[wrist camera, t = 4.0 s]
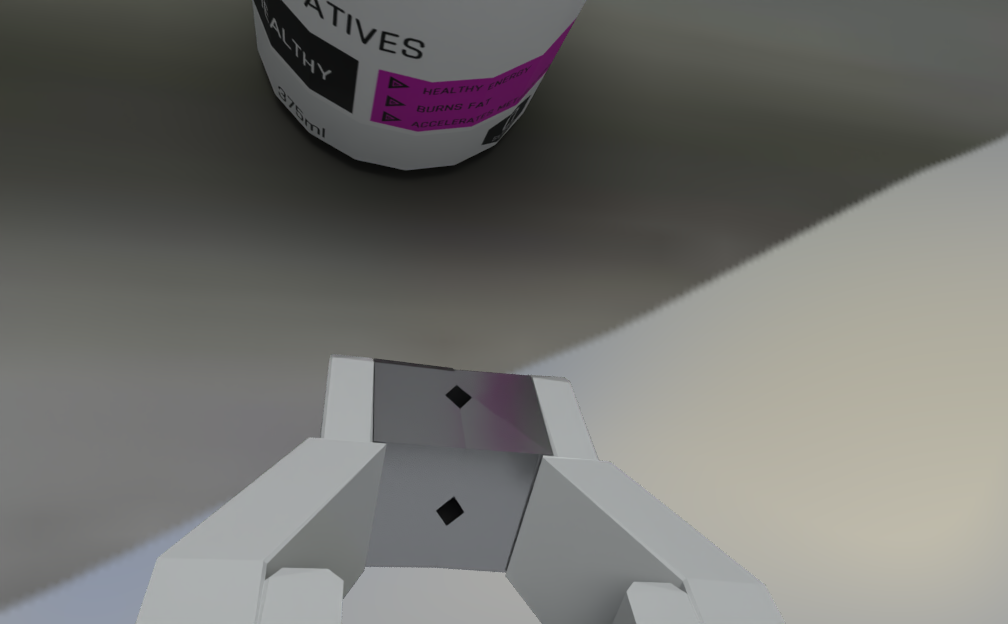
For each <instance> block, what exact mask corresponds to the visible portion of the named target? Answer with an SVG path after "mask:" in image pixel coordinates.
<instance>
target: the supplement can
mask: <svg viewBox="0 0 1008 624" xmlns="http://www.w3.org/2000/svg"><path fill="white" fill-rule="evenodd" d="M585 2H586V0H252V3H253V12H254V22H255V31H256V40H257V49H258V52H259V54H260V57H261V59H262V62H263V65H264V67H265V70H266V72H267V75H268V78H269V80H270V83H271V85H272V88H273V90H274V93H275V95H276V96H277V97H278V98H279V99H280V100H281V102H282V103H283V104H284V105H285V106H286V107H287V108H288V109H289V111H290V112H291V113H292V114H293V115H294V116H295V117H296V119H297V120H298V121H299V122H300V123H301V124H302V125H303V126H304V128H305V129H306V130H307V131H308V132H309V133H310V134H312V135H314V136H315V137H317V138H319V139H321V140H322V141H324V142H326V143H328V144H329V145H331V146H333V147H334V148H336V149H338V150H340V151H341V152H343V153H345V154H347V155H348V156H350V157H352V158H353V159H356V160H360V161H365V162H369V163H374V164H379V165H383V166H388V167H392V168H397V169H402V170H414V169H423V168H433V167H442V166H451V165H456V164H458V163H460V162H462V161H464V160H466V159H468V158H470V157H472V156H474V155H476V154H478V153H480V152H482V151H484V150H486V149H488V148H490V147H492V146H494V145H496V143H497V142H498V141H499V140H500V139H501V138H502V137H503V136H504V134H505V133H506V132H507V131H508V130H509V129H510V128H511V126H512V125H513V124H514V123H515V122H516V121H517V120H518V119H519V117H520V116H521V115H522V114H523V113H524V111H525V109H526V107H527V105H528V104H529V102H530V100H531V98H532V97H533V95H534V93H535V91H536V89H537V88H538V86H539V84H540V82H541V80H542V79H543V77H544V75H545V73H546V71H547V70H548V68H549V66H550V64H551V63H552V61H553V59H554V57H555V55H556V54H557V52H558V50H559V48H560V46H561V45H562V43H563V41H564V39H565V37H566V36H567V34H568V32H569V30H570V29H571V27H572V25H573V23H574V21H575V20H576V18H577V16H578V14H579V12H580V11H581V9H582V7H583V5H584V4H585Z"/></svg>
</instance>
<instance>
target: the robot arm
mask: <svg viewBox="0 0 1008 624" xmlns="http://www.w3.org/2000/svg"><path fill="white" fill-rule="evenodd" d="M365 567H432V568H433V567H435V568H436V567H437V568H449V569H463V570H477V571H492V572H506V577H507V578H508V580H509V581H510V582H511V584H512V585H513V586H514V588H515V589H516V590H517V592H518V593H519V594H520V595H521V597H522V598H523V599H524V601H525V602H526V603H527V605H528V606H529V607H530V608H531V610H532V611H533V613H534V614H535V615H536V616H537V618H538V619H539V620H540V622H541V623H542V624H786V623H785V621H784V619H783V618H782V616H781V614H780V612H779V610H778V608H777V606H776V604H775V603H774V600H773V598H772V597H771V595H770V593H769V591H768V589H767V587H766V585H765V584H764V583H762V582H761V581H760V580H759V579H757V578H756V577H755V576H754V575H752V574H751V573H750V572H749V571H747V570H746V569H745V568H744V567H742V566H741V565H740V564H738V563H737V562H736V561H735V560H734V559H732V558H731V557H730V556H729V555H727V554H726V553H725V552H724V551H722V550H721V549H720V548H718V547H717V546H716V545H715V544H713V543H712V542H711V541H709V540H708V539H707V538H706V537H705V536H703V535H702V534H701V533H700V532H698V531H697V530H696V529H695V528H693V527H692V526H691V525H690V524H688V523H687V522H686V521H685V520H683V519H682V518H681V517H680V516H678V515H677V514H676V513H675V512H673V511H672V510H671V509H670V508H668V507H667V506H666V505H664V504H663V503H662V502H661V501H659V500H658V499H657V498H656V497H655V496H653V495H652V494H651V493H650V492H648V491H647V490H646V489H644V488H643V487H642V486H641V485H639V484H638V483H637V482H636V481H634V480H633V479H632V478H631V477H629V476H628V475H627V474H626V473H624V472H623V471H622V470H621V469H619V468H618V467H617V466H616V465H614V464H613V463H612V462H611V461H603V460H599V459H598V456H597V453H596V451H595V448H594V445H593V443H592V440H591V437H590V434H589V432H588V429H587V426H586V423H585V421H584V418H583V415H582V413H581V410H580V407H579V405H578V402H577V399H576V397H575V394H574V391H573V388H572V386H571V383H570V381H569V380H567V379H566V378H565V377H551V376H536V375H516V374H504V373H492V372H479V371H467V370H455V369H453V368H447V367H439V366H431V365H423V364H415V363H407V362H399V361H391V360H382V359H374V360H372V358H367V357H357V356H347V355H336V354H331V357H330V360H329V367H328V375H327V383H326V391H325V399H324V407H323V415H322V423H321V431H320V438H307V439H306V440H305V441H303V442H302V443H301V444H299V445H298V446H297V447H296V448H294V449H293V450H292V451H291V452H289V453H288V454H287V455H286V456H284V457H283V458H282V459H281V460H279V461H278V462H277V463H276V464H274V465H273V466H272V467H271V468H269V469H268V470H267V471H266V472H264V473H263V474H262V475H261V476H259V477H258V478H257V479H256V480H254V481H253V482H252V483H251V484H249V485H248V486H247V487H246V488H244V489H243V490H242V491H241V492H239V493H238V494H237V495H236V496H234V497H233V498H232V499H231V500H229V501H228V502H227V503H226V504H224V505H223V506H222V507H221V508H219V509H218V510H217V511H216V512H214V513H213V514H212V515H211V516H209V517H208V518H207V519H206V520H204V521H203V522H202V523H201V524H199V525H198V526H197V527H196V528H194V529H193V530H192V531H191V532H189V533H188V534H187V535H186V536H184V537H183V538H182V539H181V540H179V541H178V542H177V543H176V544H174V545H173V546H172V547H171V548H169V549H168V550H167V551H166V552H164V553H163V554H162V555H161V556H159V557H158V558H157V561H156V564H155V567H154V570H153V573H152V576H151V579H150V582H149V585H148V588H147V591H146V594H145V597H144V599H143V603H142V605H141V608H140V611H139V614H138V617H137V620H136V623H135V624H342V604H343V602H342V601H343V599H344V597H345V596H346V594H347V593H348V592H349V591H350V589H351V588H352V587H353V585H354V584H355V582H356V581H357V580H358V578H359V577H360V576H361V574H362V573H363V572H364V569H365Z"/></svg>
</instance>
